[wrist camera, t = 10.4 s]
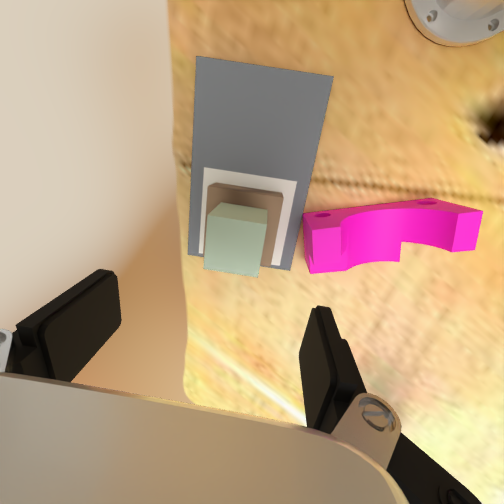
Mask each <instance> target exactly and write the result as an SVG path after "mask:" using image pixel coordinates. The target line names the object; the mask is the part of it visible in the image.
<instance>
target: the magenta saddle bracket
mask: <svg viewBox="0 0 504 504" xmlns="http://www.w3.org/2000/svg"><path fill="white" fill-rule="evenodd" d="M482 214H483V211H481V210H477V209H473V208H469V207H465V206H461V205H457V204H453V203H449V202H445V201H441V200H438V199H434V198H427V199H419V200H410V201H402V202H394V203H385V204H377V205H368V206H360V207H352V208H343V209H335V210H327V211H318V212H310V213H303V215H302V217H303V233H304V249H305V260H306V263H307V266H308V269H309V272H310V274H314V273H325V272H336V271H346V270H348V269H349V268H351V267H353V266H356V265H359V264H363V263H368V262H377V261H395V262H399V261H400V250H401V242H412V243H419V244H425V245H430V246H434V247H438V248H442V249H445V250H447V251H450V252H459V251H470V250H475V247H476V242H477V238H478V233H479V228H480V223H481V219H482Z"/></svg>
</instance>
